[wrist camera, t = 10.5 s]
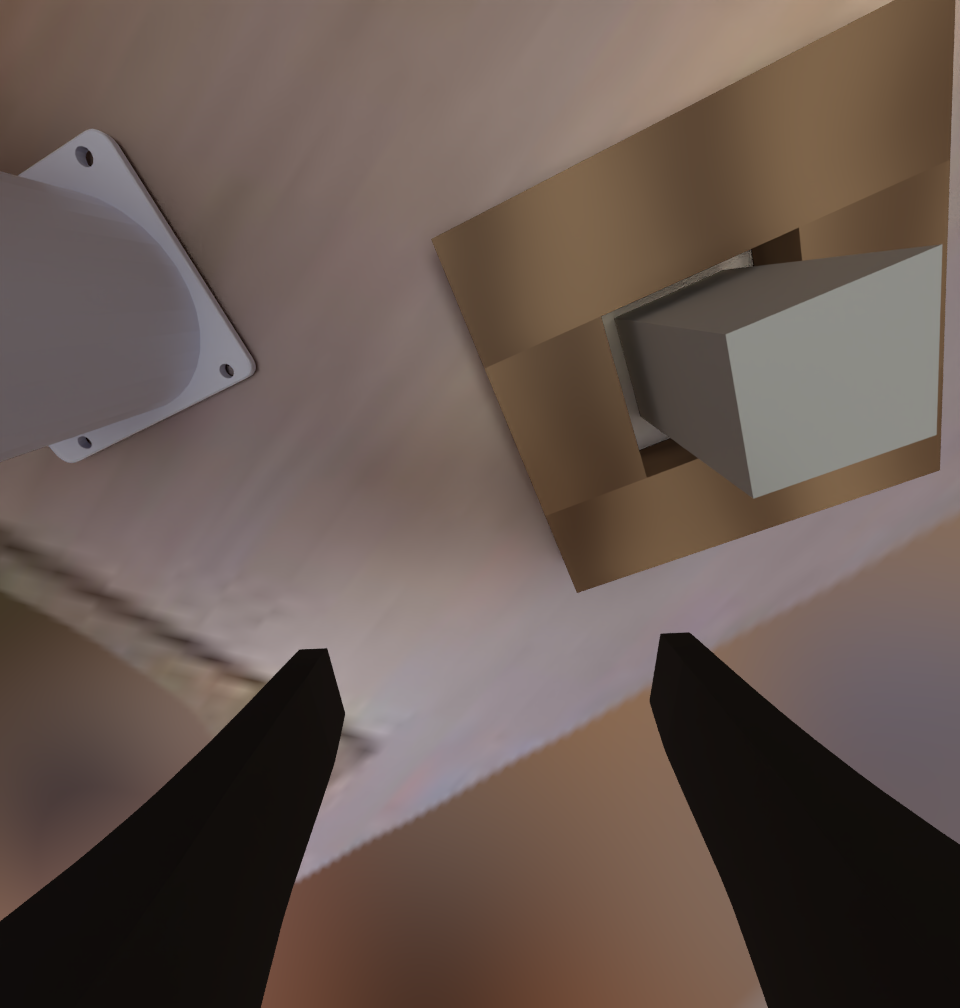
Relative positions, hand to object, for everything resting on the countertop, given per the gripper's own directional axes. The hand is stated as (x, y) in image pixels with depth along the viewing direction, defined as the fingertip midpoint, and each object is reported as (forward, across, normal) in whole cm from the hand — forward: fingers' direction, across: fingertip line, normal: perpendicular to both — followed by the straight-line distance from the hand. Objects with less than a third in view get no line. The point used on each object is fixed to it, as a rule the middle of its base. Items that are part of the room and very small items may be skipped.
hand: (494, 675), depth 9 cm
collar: (+10, -8, -5) cm, 14 cm away
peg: (+10, -8, -5) cm, 14 cm away
